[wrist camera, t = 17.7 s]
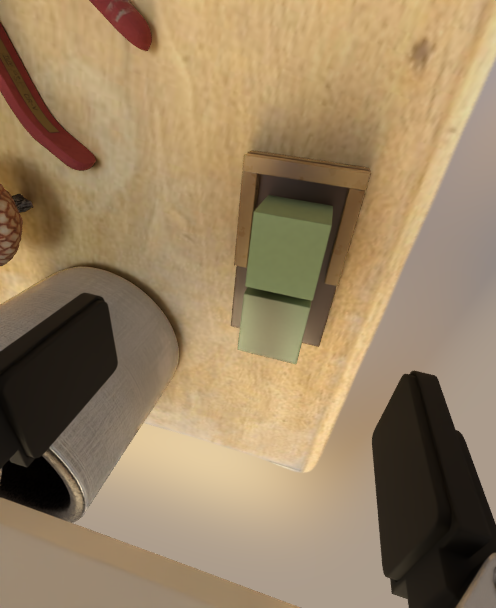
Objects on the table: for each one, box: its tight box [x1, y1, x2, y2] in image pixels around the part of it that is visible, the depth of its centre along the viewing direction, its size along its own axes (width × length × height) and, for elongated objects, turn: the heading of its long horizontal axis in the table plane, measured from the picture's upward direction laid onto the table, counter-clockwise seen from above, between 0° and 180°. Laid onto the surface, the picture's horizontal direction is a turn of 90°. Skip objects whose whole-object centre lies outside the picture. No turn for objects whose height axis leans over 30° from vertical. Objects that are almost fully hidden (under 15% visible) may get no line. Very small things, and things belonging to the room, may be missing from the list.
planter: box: [0, 267, 179, 523], centre depth 28 cm, size 16×16×16 cm
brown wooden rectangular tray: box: [231, 151, 371, 364], centre depth 23 cm, size 8×14×6 cm, turn 174°
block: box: [245, 195, 333, 301], centre depth 21 cm, size 4×5×4 cm
